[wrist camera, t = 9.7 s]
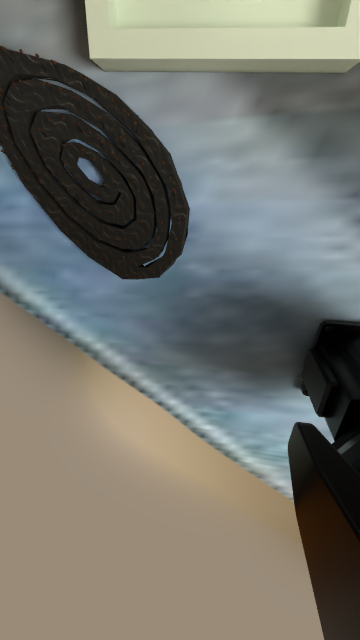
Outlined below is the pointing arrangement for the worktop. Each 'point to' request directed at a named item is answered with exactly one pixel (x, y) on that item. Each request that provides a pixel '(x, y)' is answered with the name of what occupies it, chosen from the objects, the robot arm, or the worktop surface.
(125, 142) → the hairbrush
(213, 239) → the worktop surface
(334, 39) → the tray
